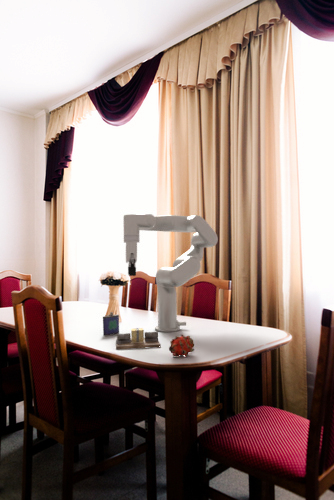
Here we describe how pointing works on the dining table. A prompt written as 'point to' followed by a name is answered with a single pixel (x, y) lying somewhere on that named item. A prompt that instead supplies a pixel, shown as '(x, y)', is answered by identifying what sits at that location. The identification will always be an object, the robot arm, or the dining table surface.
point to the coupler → (137, 335)
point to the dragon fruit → (181, 345)
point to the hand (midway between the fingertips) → (131, 275)
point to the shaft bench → (126, 342)
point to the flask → (110, 324)
